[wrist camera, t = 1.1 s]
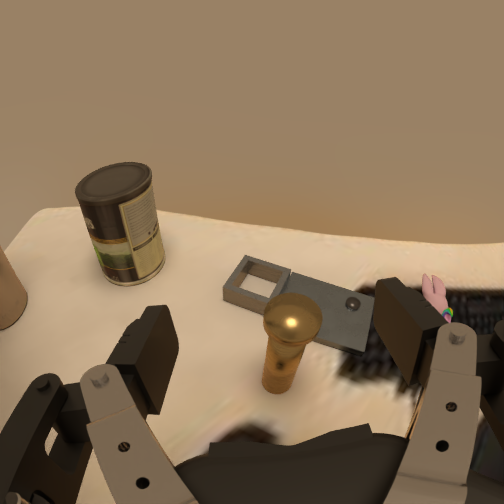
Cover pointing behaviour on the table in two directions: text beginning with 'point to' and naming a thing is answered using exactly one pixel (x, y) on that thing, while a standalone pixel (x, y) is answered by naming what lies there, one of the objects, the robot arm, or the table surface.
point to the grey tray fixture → (323, 294)
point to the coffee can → (122, 222)
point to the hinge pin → (287, 337)
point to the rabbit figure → (436, 295)
